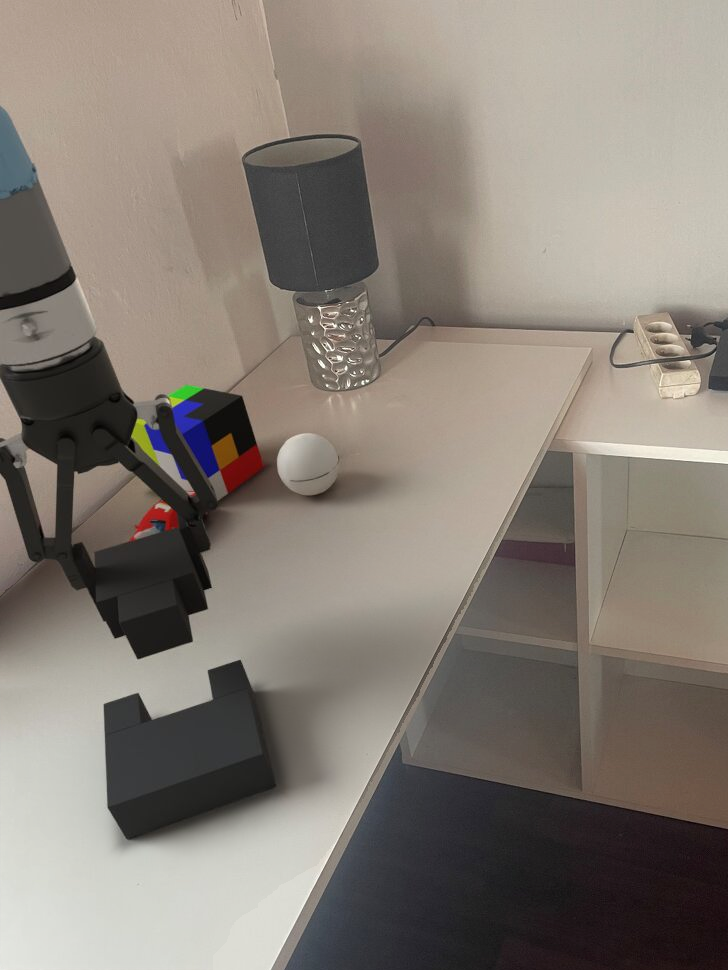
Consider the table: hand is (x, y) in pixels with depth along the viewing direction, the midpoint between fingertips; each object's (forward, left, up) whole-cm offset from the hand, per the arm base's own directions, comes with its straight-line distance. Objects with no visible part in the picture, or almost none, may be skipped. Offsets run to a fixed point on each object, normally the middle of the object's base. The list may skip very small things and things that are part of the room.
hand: (157, 595), depth 76 cm
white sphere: (-25, +19, -9) cm, 33 cm away
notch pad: (+12, -1, -9) cm, 15 cm away
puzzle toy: (-36, +6, -9) cm, 38 cm away
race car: (-24, 0, -9) cm, 26 cm away
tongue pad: (+2, 0, 0) cm, 2 cm away
